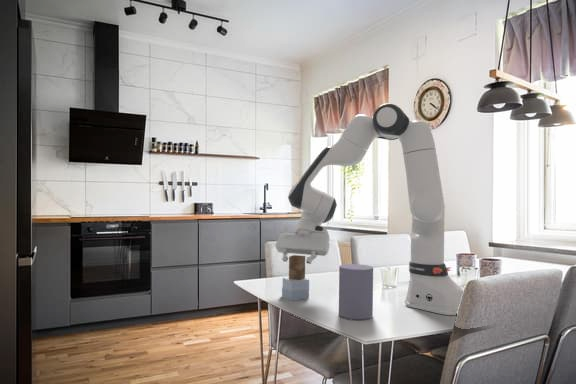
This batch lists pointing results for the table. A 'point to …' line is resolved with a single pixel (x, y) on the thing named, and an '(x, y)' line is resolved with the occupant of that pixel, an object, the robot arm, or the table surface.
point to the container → (355, 291)
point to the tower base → (295, 294)
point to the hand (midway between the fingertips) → (296, 261)
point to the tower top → (295, 284)
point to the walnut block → (297, 267)
